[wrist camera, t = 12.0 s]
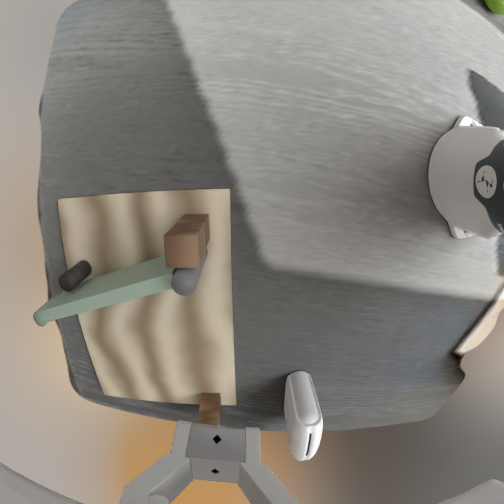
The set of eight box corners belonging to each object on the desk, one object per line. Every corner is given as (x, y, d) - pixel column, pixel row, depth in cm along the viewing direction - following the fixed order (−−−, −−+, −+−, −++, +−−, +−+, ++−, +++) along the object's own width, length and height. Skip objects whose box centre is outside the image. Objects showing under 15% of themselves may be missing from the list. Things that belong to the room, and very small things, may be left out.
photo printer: (306, 410, 47) (318, 465, 36) (282, 412, 47) (290, 468, 35) (312, 368, 44) (329, 426, 32) (285, 370, 44) (296, 430, 32)
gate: (204, 240, 36) (191, 269, 27) (210, 258, 37) (199, 292, 28) (61, 285, 37) (25, 316, 28) (68, 300, 38) (34, 333, 29)
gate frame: (229, 188, 36) (224, 201, 25) (236, 402, 46) (235, 453, 36) (59, 198, 35) (10, 215, 24) (105, 392, 45) (85, 435, 35)
